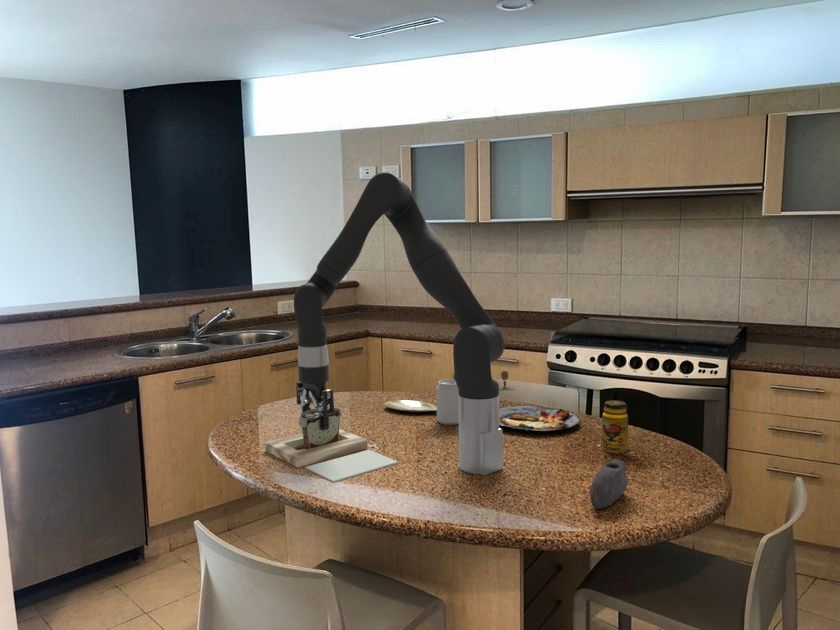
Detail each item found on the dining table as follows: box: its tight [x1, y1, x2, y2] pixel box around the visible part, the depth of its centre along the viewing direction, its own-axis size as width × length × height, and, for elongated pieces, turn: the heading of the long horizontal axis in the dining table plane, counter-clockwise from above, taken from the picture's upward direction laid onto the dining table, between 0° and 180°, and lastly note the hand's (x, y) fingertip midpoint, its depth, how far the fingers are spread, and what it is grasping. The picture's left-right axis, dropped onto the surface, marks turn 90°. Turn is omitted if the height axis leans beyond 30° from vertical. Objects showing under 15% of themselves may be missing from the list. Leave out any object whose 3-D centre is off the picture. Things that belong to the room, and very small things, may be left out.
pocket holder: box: [265, 428, 368, 468], centre depth 170 cm, size 16×20×2 cm
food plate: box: [499, 405, 581, 432], centre depth 189 cm, size 25×23×4 cm
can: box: [435, 379, 459, 426], centre depth 192 cm, size 8×8×12 cm
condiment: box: [596, 400, 635, 454], centre depth 166 cm, size 7×8×12 cm
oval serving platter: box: [384, 399, 437, 413], centre depth 202 cm, size 35×11×2 cm, turn 62°
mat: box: [305, 449, 399, 483], centre depth 158 cm, size 12×18×1 cm, turn 130°
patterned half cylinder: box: [298, 407, 343, 450], centre depth 170 cm, size 12×6×10 cm, turn 141°
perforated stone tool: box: [589, 458, 629, 510], centre depth 135 cm, size 15×5×7 cm, turn 144°
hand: (315, 425), depth 170 cm, fingers open, 8 cm apart
